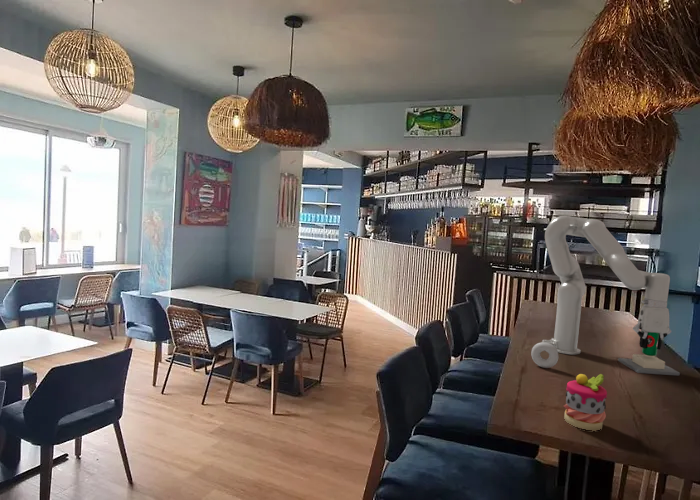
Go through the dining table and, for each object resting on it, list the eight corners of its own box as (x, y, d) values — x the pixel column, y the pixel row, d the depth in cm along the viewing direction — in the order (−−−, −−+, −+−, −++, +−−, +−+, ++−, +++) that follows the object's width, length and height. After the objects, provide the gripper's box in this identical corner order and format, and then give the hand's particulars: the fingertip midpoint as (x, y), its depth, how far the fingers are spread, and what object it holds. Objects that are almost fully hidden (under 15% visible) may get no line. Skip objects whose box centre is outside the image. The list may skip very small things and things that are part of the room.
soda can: (658, 357, 181) (662, 327, 180) (644, 355, 182) (648, 326, 181) (653, 353, 186) (656, 324, 184) (639, 351, 187) (643, 323, 185)
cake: (569, 429, 126) (574, 377, 125) (558, 412, 137) (563, 364, 135) (609, 434, 125) (615, 381, 123) (595, 417, 135) (600, 368, 134)
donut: (558, 369, 176) (560, 344, 175) (556, 371, 173) (558, 346, 172) (531, 363, 182) (533, 338, 181) (529, 365, 179) (531, 340, 178)
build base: (637, 372, 177) (639, 362, 177) (617, 360, 191) (619, 351, 191) (679, 375, 177) (680, 365, 177) (656, 363, 191) (657, 353, 191)
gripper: (639, 304, 178) (633, 349, 180) (683, 307, 178) (677, 352, 179) (628, 300, 186) (623, 343, 187) (670, 303, 185) (665, 346, 187)
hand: (649, 347), depth 183 cm, fingers closed on soda can, 5 cm apart
